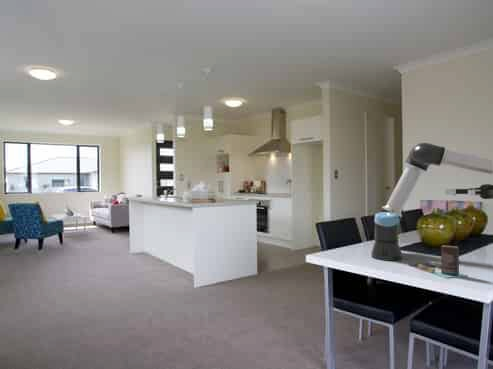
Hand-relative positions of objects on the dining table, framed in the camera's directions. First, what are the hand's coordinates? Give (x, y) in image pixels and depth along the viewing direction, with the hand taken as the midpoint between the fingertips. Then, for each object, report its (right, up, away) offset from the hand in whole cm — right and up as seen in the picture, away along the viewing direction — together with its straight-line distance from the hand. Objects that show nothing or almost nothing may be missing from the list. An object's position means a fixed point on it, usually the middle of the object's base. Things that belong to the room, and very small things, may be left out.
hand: (456, 192), depth 165 cm
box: (-13, -35, -17) cm, 41 cm away
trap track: (-16, -35, -6) cm, 39 cm away
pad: (-13, -35, -17) cm, 42 cm away
